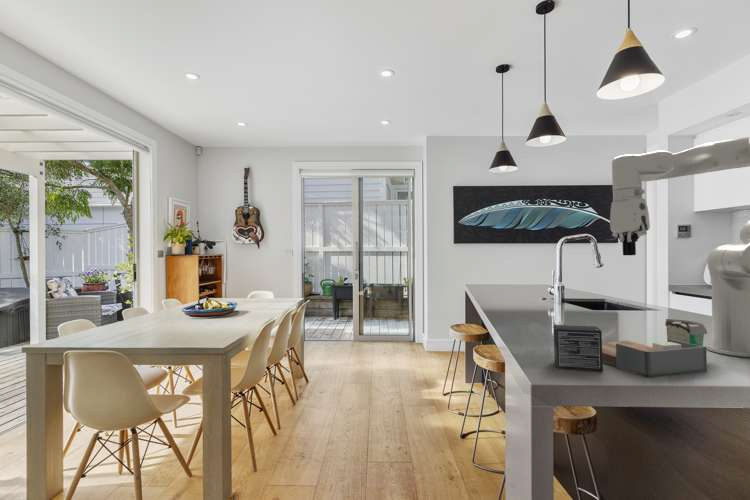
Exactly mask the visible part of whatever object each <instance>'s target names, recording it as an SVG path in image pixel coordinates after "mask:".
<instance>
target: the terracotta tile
mask: <svg viewBox="0 0 750 500" xmlns="http://www.w3.org/2000/svg"><path fill="white" fill-rule="evenodd" d="M643 345H644V344H643V343H639V344H632V345H626V346H630V347H633V348H637V349H641V350H644V351H650V350H648V349H647V348H646V347H644V346H643Z"/></svg>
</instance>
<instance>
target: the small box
mask: <svg viewBox="0 0 750 500" xmlns="http://www.w3.org/2000/svg"><path fill="white" fill-rule="evenodd" d="M602 334H603V331H602V330H601V329H600V328H599V327H597V326H592V325H572V324H571V325H569V324H568V325H567V324H566V325H565V324H553V350H554V351H553V353H554V355H553V356H554V358H553V359H554V361H553V362H554V364H555V366H556V368H557V369H559V370H560V369H561V370H573V371H574V370H575V371H582V372H583V371H586V372H599V373H603V372H604V366H603V365H604V362H603V361H602V343H603V337H602V336H603V335H602Z"/></svg>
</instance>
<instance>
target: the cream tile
mask: <svg viewBox="0 0 750 500" xmlns="http://www.w3.org/2000/svg"><path fill="white" fill-rule="evenodd" d="M651 347H653V351H656V350H667V349H678V348H682V345H681V344H677V343H673V342H668V341H663V342H652V346H651Z"/></svg>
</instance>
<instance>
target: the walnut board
mask: <svg viewBox="0 0 750 500" xmlns="http://www.w3.org/2000/svg"><path fill="white" fill-rule="evenodd" d="M617 343H619V344H623V345H632V344H640V343H637V342H634V341H630V340H622V341H621V340H620V341H608V342H602V361H603V364H604V363H605V364H608V365H610V366H613V367H616V344H617ZM642 345H643V346H644V347H646V348H647V349H648V350H650V351H653V346H649V345H646V344H642Z"/></svg>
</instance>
